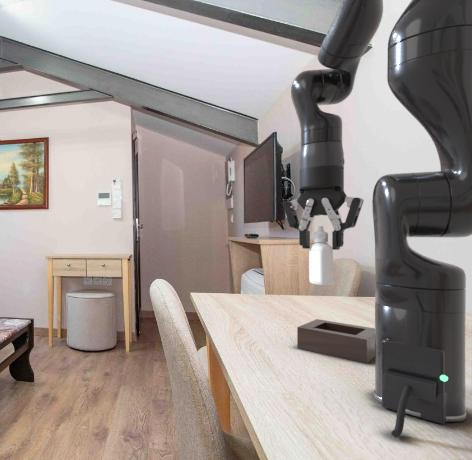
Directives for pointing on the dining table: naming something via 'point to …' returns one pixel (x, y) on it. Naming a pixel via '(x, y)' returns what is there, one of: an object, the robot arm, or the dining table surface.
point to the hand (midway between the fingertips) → (320, 248)
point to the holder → (337, 340)
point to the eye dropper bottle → (321, 259)
